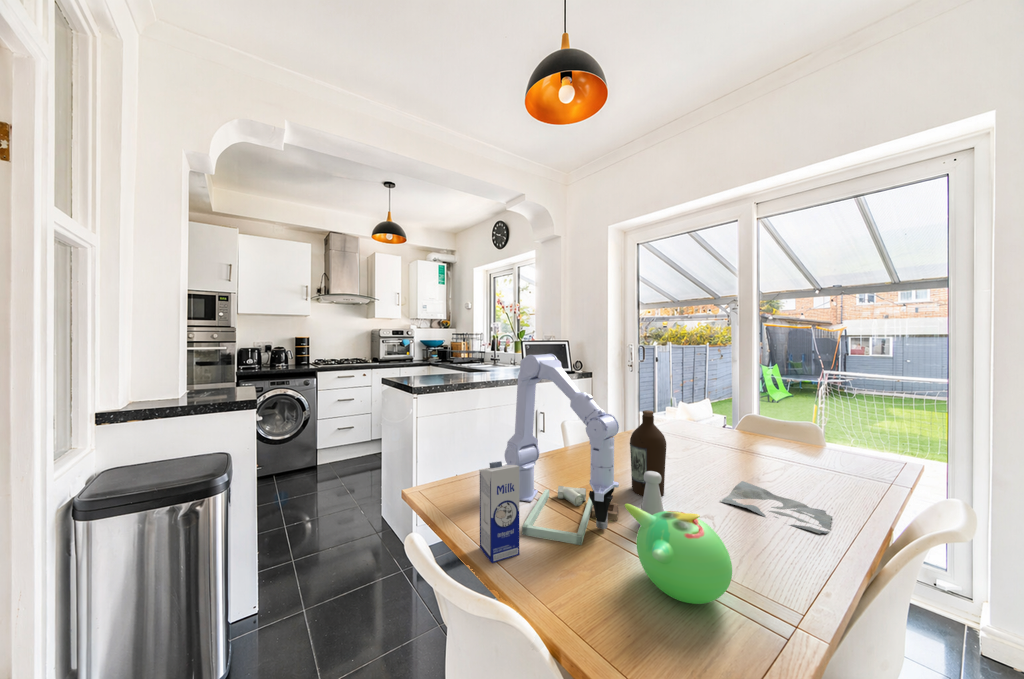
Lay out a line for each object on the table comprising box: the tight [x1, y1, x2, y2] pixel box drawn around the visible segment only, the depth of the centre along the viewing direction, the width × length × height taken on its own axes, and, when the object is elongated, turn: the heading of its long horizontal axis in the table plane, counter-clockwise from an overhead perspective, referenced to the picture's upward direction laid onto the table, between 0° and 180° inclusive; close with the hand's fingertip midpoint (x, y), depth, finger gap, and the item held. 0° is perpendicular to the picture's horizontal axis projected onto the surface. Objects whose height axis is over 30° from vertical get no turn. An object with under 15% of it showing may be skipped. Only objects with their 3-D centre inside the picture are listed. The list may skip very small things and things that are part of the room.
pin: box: [595, 512, 609, 530], centre depth 95 cm, size 3×3×6 cm
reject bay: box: [521, 488, 593, 546], centre depth 102 cm, size 14×24×2 cm, turn 161°
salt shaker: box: [640, 471, 665, 515], centre depth 99 cm, size 6×6×13 cm
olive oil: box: [629, 409, 667, 497], centre depth 118 cm, size 11×11×25 cm
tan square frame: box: [591, 502, 619, 522], centre depth 104 cm, size 6×6×2 cm
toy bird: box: [624, 503, 733, 605], centre depth 73 cm, size 18×17×15 cm
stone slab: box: [719, 480, 833, 535], centre depth 106 cm, size 24×16×2 cm, turn 38°
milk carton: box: [478, 460, 520, 564], centre depth 86 cm, size 7×7×20 cm
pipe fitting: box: [557, 485, 587, 507], centre depth 111 cm, size 8×4×7 cm
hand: (601, 518), depth 95 cm, fingers closed on pin, 3 cm apart
